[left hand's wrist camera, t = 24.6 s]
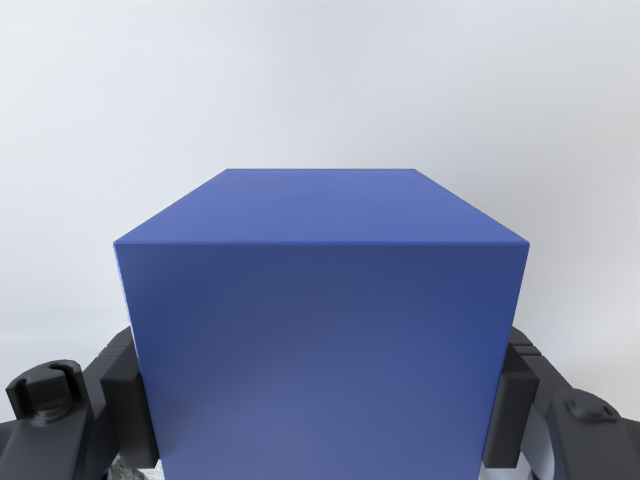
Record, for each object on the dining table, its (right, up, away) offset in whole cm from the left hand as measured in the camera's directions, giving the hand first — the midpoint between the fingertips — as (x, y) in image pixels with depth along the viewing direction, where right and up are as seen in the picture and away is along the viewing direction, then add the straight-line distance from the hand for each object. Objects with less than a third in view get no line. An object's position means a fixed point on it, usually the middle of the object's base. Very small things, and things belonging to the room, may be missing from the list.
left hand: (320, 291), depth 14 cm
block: (0, +1, +2) cm, 3 cm away
